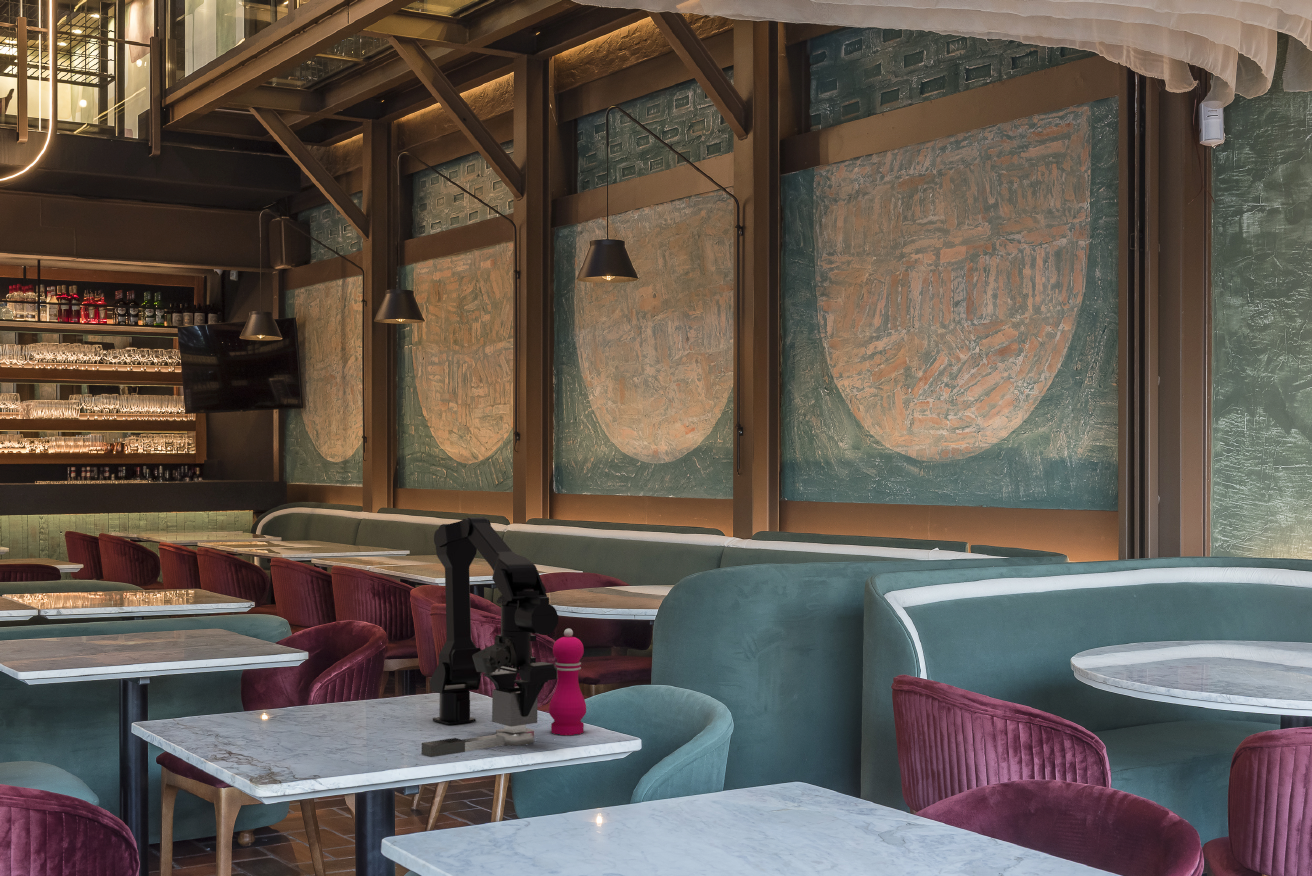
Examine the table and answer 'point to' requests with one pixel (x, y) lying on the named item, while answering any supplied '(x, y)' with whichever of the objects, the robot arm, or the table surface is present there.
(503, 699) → the grey open-top box
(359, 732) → the table surface
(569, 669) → the pepper mill
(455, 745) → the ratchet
